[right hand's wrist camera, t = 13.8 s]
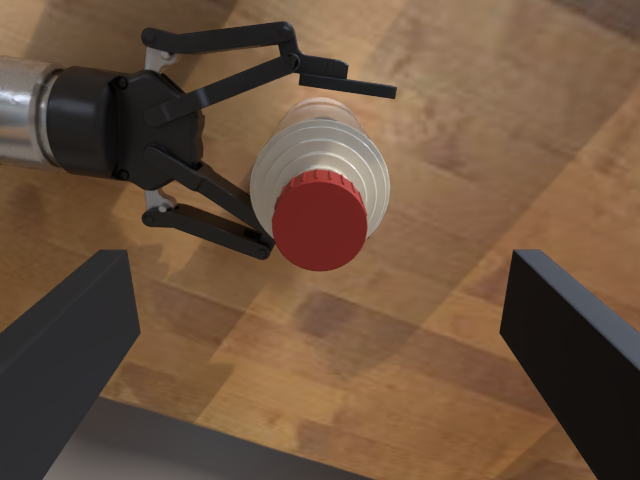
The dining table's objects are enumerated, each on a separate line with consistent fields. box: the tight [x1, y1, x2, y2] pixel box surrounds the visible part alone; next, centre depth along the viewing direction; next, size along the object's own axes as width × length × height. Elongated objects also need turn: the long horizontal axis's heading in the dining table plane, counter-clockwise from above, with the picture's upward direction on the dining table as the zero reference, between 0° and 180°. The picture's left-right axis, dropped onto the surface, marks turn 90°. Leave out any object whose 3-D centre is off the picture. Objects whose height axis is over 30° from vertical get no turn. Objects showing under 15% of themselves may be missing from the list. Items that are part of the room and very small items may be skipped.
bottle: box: [250, 97, 390, 239], centre depth 29 cm, size 7×7×22 cm
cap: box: [271, 169, 368, 271], centre depth 19 cm, size 4×4×2 cm
